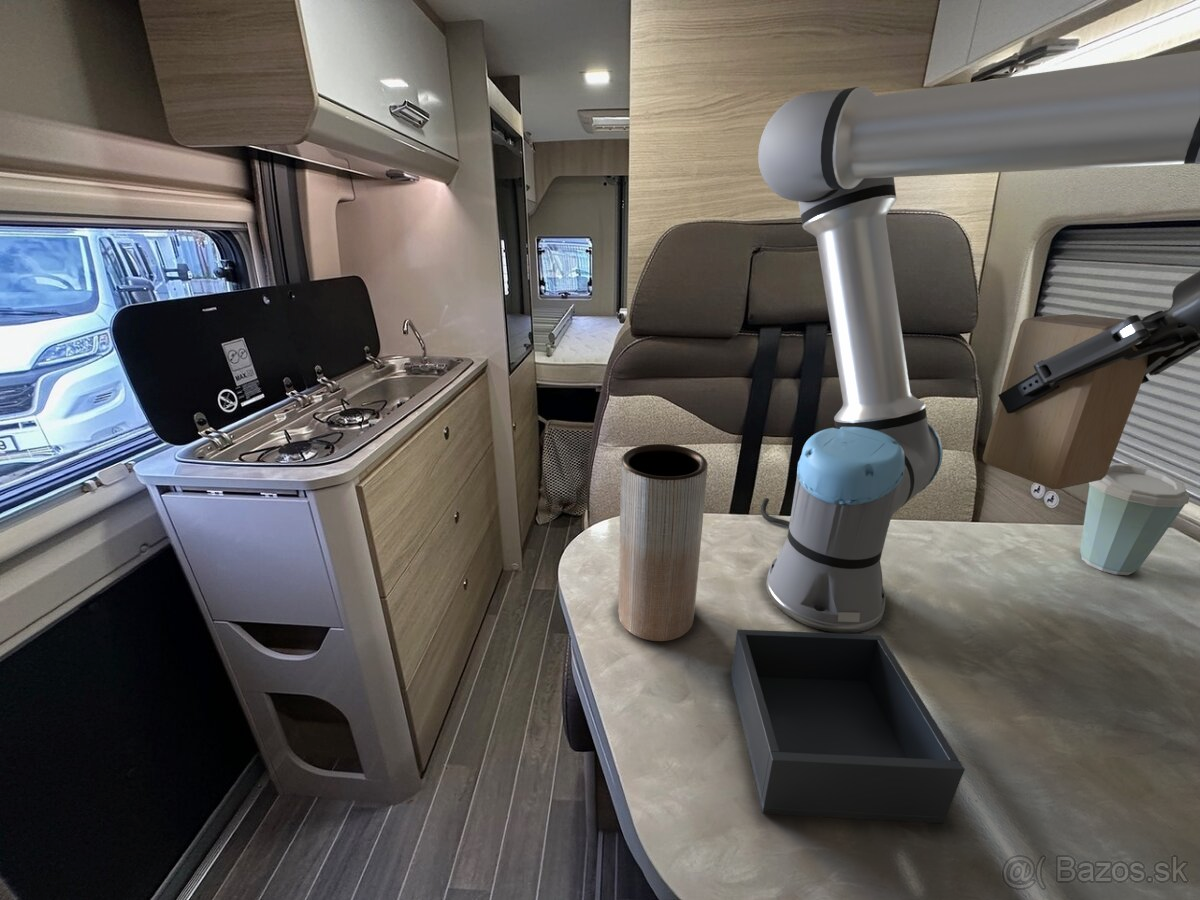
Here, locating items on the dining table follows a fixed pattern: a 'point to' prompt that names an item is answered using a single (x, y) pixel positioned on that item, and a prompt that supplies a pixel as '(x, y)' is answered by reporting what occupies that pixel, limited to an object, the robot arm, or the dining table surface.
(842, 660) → the tote
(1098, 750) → the dining table surface
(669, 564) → the planter
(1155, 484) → the disposable coffee cup
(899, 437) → the robot arm
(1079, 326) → the wooden block
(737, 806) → the dining table surface
